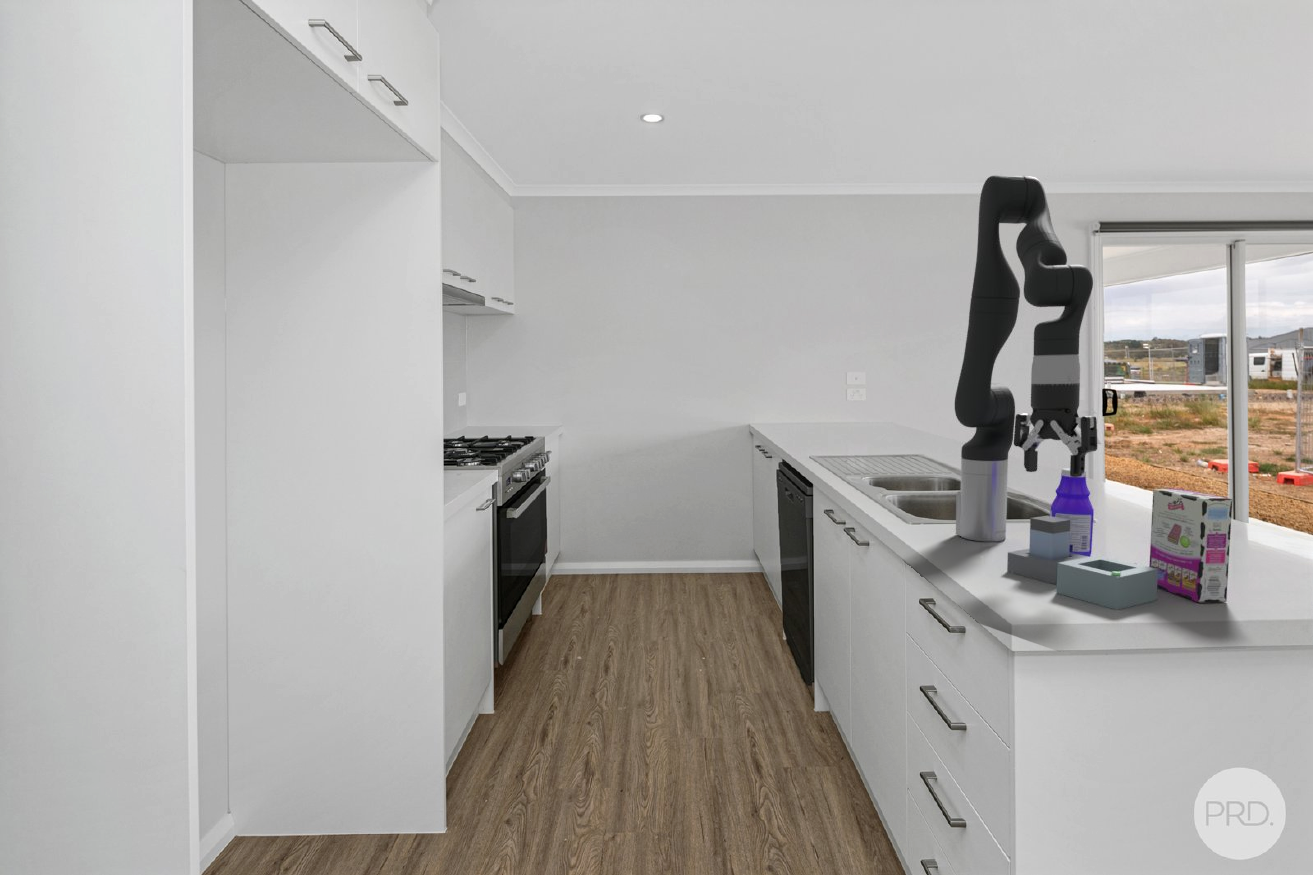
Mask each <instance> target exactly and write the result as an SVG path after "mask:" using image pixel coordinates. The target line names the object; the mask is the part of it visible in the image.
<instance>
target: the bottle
mask: <svg viewBox="0 0 1313 875" xmlns="http://www.w3.org/2000/svg"><path fill="white" fill-rule="evenodd" d="M1060 476H1061V477H1060V481H1059V484H1058V486H1057V488H1056V489H1055V493H1056V494H1055V495H1056V496H1055V498H1054V499H1053V501H1052V502H1051V505H1050V510H1049V511H1050V513H1049V516H1052V517H1058V518H1063V519H1069V520H1070V547H1069V552H1070V553H1075V554H1079V555H1084V556H1088V557H1091V555H1092V548H1093V532H1094V531H1093V530H1094V516H1095V515H1094V514H1095V513H1094V510H1095V509H1094V508H1093V505H1092V502H1091V499H1090V494H1091V491H1090V490H1089V488H1088V485H1087V470H1086V469H1085V471H1084V473H1082V476H1080V477H1071V476H1070V467H1063V468H1062V469H1061V474H1060Z"/></svg>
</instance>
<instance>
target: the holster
mask: <svg viewBox="0 0 1313 875" xmlns="http://www.w3.org/2000/svg"><path fill="white" fill-rule="evenodd" d="M1029 549H1030V548H1025V549H1021V550H1013V551H1008V552H1007V564H1006V567H1007V568H1006V569H1007V570H1006V572H1008V573H1012V574H1015V575H1019V576H1023V577H1025V578H1026V577H1027V578H1030V579H1033V580H1037V581H1041V582H1045V583H1049V584H1052V585H1057V564H1058V563H1059V562H1065V561H1070V560H1075V559H1080V558H1086V557H1088V556H1084V555H1079V554H1075V553H1070V552H1069V557H1067V558H1062V559H1056V560H1050V559H1046V558H1042V557H1038V556H1034V555H1029Z"/></svg>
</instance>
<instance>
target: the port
mask: <svg viewBox="0 0 1313 875" xmlns="http://www.w3.org/2000/svg"><path fill="white" fill-rule="evenodd" d="M1157 580H1158V569H1156V568H1151V567H1149V566H1146V565H1142V564H1137V563H1132V562H1128V561H1124V560H1118V559H1115V558H1109V557H1105V556H1101V555H1092V556H1090V557H1086V558H1080V559H1075V560H1070V561H1065V562H1059V563H1058V564H1057V584H1056V594H1059V595H1063V596H1065V597H1071V598H1072V599H1073V598H1074V599H1077V600H1079V601H1080V600H1082V601H1084V602H1088V603H1090V604H1091V603H1092V604H1094V605H1095V604H1096V605H1099V606H1102V607H1106V608H1110V609H1113V610H1116V611H1117V610H1122V609H1126V608H1129V607H1133V606H1134V607H1135V606H1138V605H1142V604H1147V603H1150V602H1155V601H1157V600H1158V599H1157V597H1158V596H1157V595H1158V587H1157Z"/></svg>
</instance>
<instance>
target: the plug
mask: <svg viewBox="0 0 1313 875" xmlns="http://www.w3.org/2000/svg"><path fill="white" fill-rule="evenodd" d="M1029 519H1030V522H1029V523H1030V524H1029V548H1028V549H1029V555H1034V556H1038V557H1042V558H1046V559H1050V560H1056V559H1062V558H1067V557H1069V547H1070V520H1069V519H1063V518H1058V517H1052V516H1050V515H1044V516H1042V515H1041V516H1035V517H1030V518H1029Z"/></svg>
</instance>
